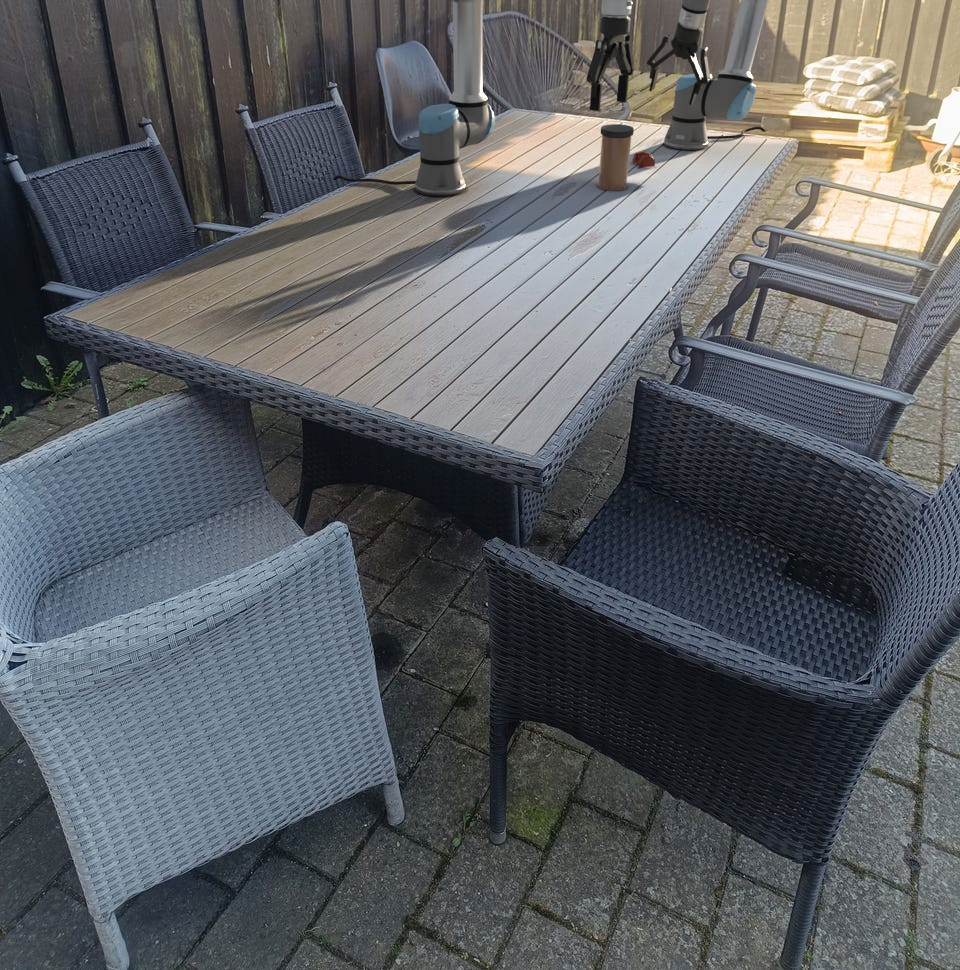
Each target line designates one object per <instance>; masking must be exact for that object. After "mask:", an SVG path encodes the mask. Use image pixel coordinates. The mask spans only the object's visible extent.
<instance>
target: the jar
mask: <svg viewBox="0 0 960 970" xmlns="http://www.w3.org/2000/svg"><path fill="white" fill-rule="evenodd" d="M631 142H632V136H630V137H625V138H612V137H606V136H603V135H601V143H600V144H601V145H600V157H599V169H598V182H597V187H598V188H599V189H601V190H604V191H611V192H613V191H614V192H615V191H618V192H619V191H623V190H625V189H626V188H627V183H628V174H629V164H630V163H629V162H630V154H631V153H630V152H631V144H632V143H631Z"/></svg>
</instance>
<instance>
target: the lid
mask: <svg viewBox="0 0 960 970" xmlns="http://www.w3.org/2000/svg"><path fill="white" fill-rule="evenodd" d="M634 132H635V128H634V127H633V126H631V125H628V124H621V123H614V124H613V123H612V124H611V123H610V124H605V125H602V126H601V127H600V135H601V136H602V135H603V136H606V137H612V138H625V137H630V136H631V137H633V136H634Z"/></svg>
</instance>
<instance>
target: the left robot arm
mask: <svg viewBox="0 0 960 970" xmlns="http://www.w3.org/2000/svg"><path fill="white" fill-rule="evenodd" d="M483 1H484V0H451V3H452V4H451V5H452V54H453V58H452V59H453V60H452V61H453V92H452V94H451V95H450V96H449V97H448V103H438V104H431V105H428V106H426V107H424V108H423V109H422V110H421V111H420V112H419V114H418V115H419V116H418V126H417V127H418V137H419V138H418V139H419V157H420V158H419V159H420V161H419V162H420V164H419V168H418V172H417V176H416V180H399V181H392V180H386V179H379V178H349V177H346V176H344V175H341V174H337V175H335V176H334V177H333V178H332V181H337V180H339V179H341V180H343V181H346V182H350V183H351V182H352V183H363V182H364V183H367V182H369V183H380V184H386V185H393V186H395V185H396V186H399V185H401V186H402V185H414V186H415V192H417V193H418V194H420V195H424V196H430V197H450V196H455V195H459V194H461V193H463V192H464V191H466V181H465V178H464V176H463V172H462V169H461V165H460V149H463V148H467V147H470V146H474V145H475V146H476V145H479V144H480V143H482V142H484V141H486V140H487V139H488V138H489V137H490V136H491V135H492V133H493V131H494V128H495V123H496V117H495V113H494V110H492V106H491V105H490V104H489V103H488V96H487V95H486V94H485V93H484V91H483V16H484V15H483V14H484V13H483V8H484V7H483V3H484V2H483ZM632 6H633V0H601V8H600V9H601V10H600V14H601V18H600V24H599V33H600V34H602V35H603V39H596V40H595V45H594V50H593V55H592V58H591V61H590V65H589V67H588V71H587V75H586V78H585V79H586V82H587V83H588V84H590V99H589V100H590V101H589V111H594V112H595V111H596V112H600V111H601V102H602V88H603V84H602V83H601V81H602V80H603V77H604V75H605V72H606V70H607V68H608V65H609V63H610V61H612V60H613V59H614V58H615V60H616V63H617V67H618V70H619V72H620V74H619V75H618V79H617V80H618V82H617V92H616V102H619V103H627V101H628V94H629V93H628V91H629V82H630V79H629V78H630V77H632V76H634V72H635V70H636V69H635V62H634V55H633V47H632V35H631V34H629V33H630V29H631V18H630V15H631V14H632Z"/></svg>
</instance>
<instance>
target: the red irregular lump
mask: <svg viewBox="0 0 960 970" xmlns="http://www.w3.org/2000/svg"><path fill="white" fill-rule="evenodd" d="M632 164H637V167H638V168H649V167H655V166H656V160H655V158H654V157H653V154H651V153H649V152H646V151H645V150H641V151H638V152H636V153H634V155H633V157H632Z"/></svg>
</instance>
